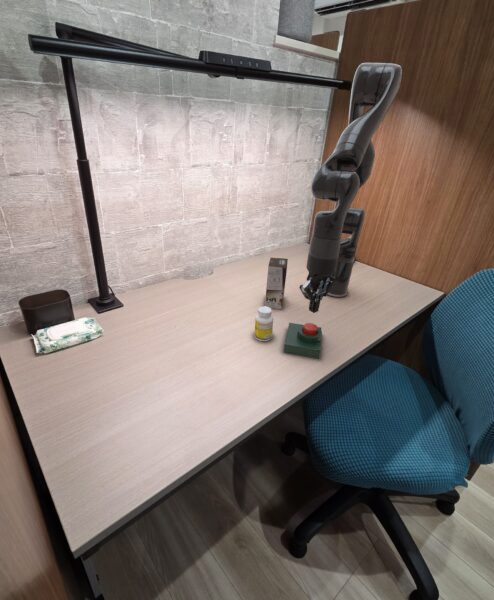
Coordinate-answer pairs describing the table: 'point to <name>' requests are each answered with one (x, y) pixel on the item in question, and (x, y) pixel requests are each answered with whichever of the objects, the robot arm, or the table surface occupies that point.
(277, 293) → the coffee box
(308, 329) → the button
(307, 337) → the console
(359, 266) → the table surface
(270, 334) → the supplement bottle
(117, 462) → the table surface
